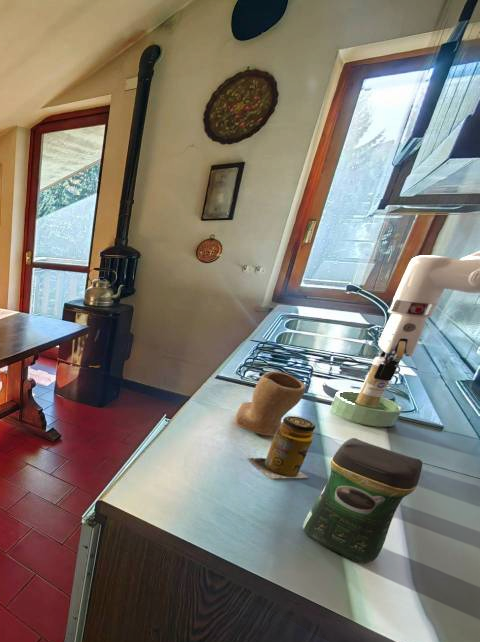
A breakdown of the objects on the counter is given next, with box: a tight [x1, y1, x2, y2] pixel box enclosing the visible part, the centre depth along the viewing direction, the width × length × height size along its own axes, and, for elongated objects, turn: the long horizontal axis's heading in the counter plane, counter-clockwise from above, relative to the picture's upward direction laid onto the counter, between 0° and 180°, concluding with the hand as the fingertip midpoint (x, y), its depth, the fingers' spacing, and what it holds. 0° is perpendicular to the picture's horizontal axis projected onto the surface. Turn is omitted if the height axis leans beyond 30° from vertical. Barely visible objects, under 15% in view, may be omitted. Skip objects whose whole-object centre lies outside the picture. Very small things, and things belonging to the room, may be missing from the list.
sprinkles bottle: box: [355, 356, 390, 408], centre depth 104 cm, size 5×5×14 cm
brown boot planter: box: [234, 371, 307, 437], centre depth 100 cm, size 15×12×15 cm
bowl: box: [329, 390, 404, 428], centre depth 107 cm, size 13×13×5 cm
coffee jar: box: [302, 437, 423, 563], centre depth 63 cm, size 10×8×19 cm
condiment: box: [246, 415, 316, 480], centre depth 83 cm, size 7×8×12 cm
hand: (379, 375), depth 103 cm, fingers closed on sprinkles bottle, 4 cm apart
